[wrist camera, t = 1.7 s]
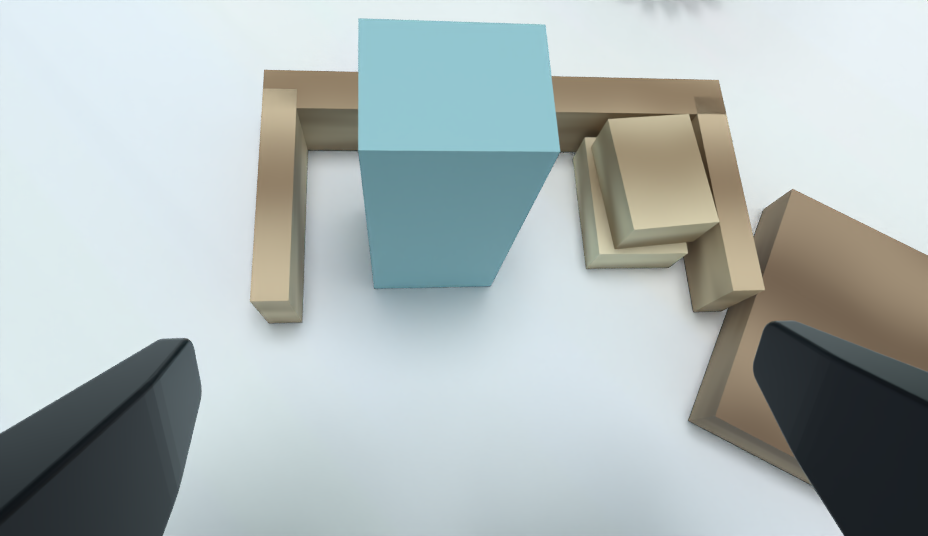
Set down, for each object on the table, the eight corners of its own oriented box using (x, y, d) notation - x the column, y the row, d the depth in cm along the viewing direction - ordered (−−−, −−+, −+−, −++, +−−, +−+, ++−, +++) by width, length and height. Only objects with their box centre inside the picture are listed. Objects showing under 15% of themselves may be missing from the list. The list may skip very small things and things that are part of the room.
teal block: (490, 286, 23) (560, 152, 13) (374, 288, 23) (358, 150, 13) (484, 204, 24) (545, 24, 15) (373, 204, 24) (358, 18, 14)
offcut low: (665, 269, 25) (688, 253, 23) (583, 270, 24) (599, 254, 22) (648, 162, 26) (667, 138, 24) (570, 161, 26) (584, 137, 24)
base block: (935, 549, 22) (985, 557, 20) (688, 420, 22) (715, 416, 21) (979, 316, 25) (1026, 304, 23) (763, 209, 26) (792, 188, 24)
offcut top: (693, 241, 23) (719, 222, 21) (614, 249, 23) (634, 229, 21) (666, 141, 24) (688, 113, 22) (591, 146, 24) (608, 119, 22)
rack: (721, 311, 24) (764, 289, 21) (268, 323, 22) (249, 301, 19) (684, 121, 27) (718, 80, 24) (279, 115, 25) (264, 69, 22)
